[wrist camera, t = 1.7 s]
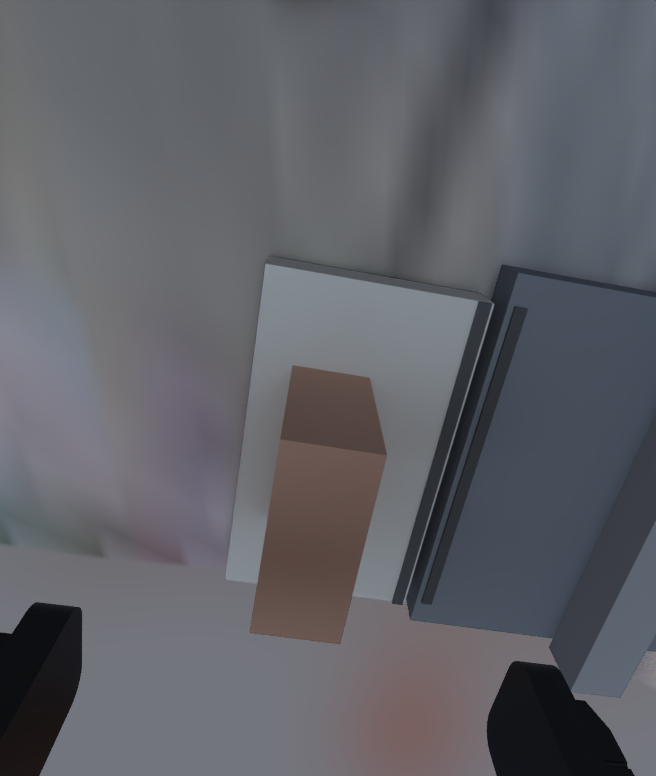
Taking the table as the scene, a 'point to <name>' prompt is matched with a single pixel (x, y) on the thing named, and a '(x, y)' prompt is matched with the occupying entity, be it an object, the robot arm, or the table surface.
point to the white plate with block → (345, 439)
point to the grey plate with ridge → (554, 481)
